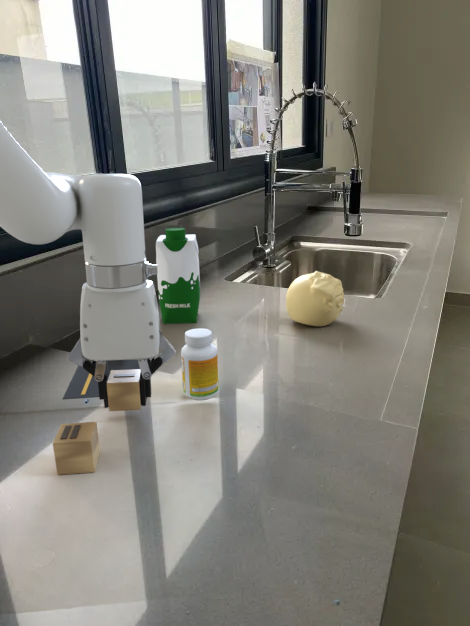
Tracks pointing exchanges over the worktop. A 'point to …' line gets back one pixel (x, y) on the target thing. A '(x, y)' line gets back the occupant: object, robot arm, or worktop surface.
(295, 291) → the pale yellow lumpy ball
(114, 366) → the word mat
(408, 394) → the worktop surface
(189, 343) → the supplement bottle
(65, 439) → the striped cardboard box
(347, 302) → the worktop surface
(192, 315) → the milk carton
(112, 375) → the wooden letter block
